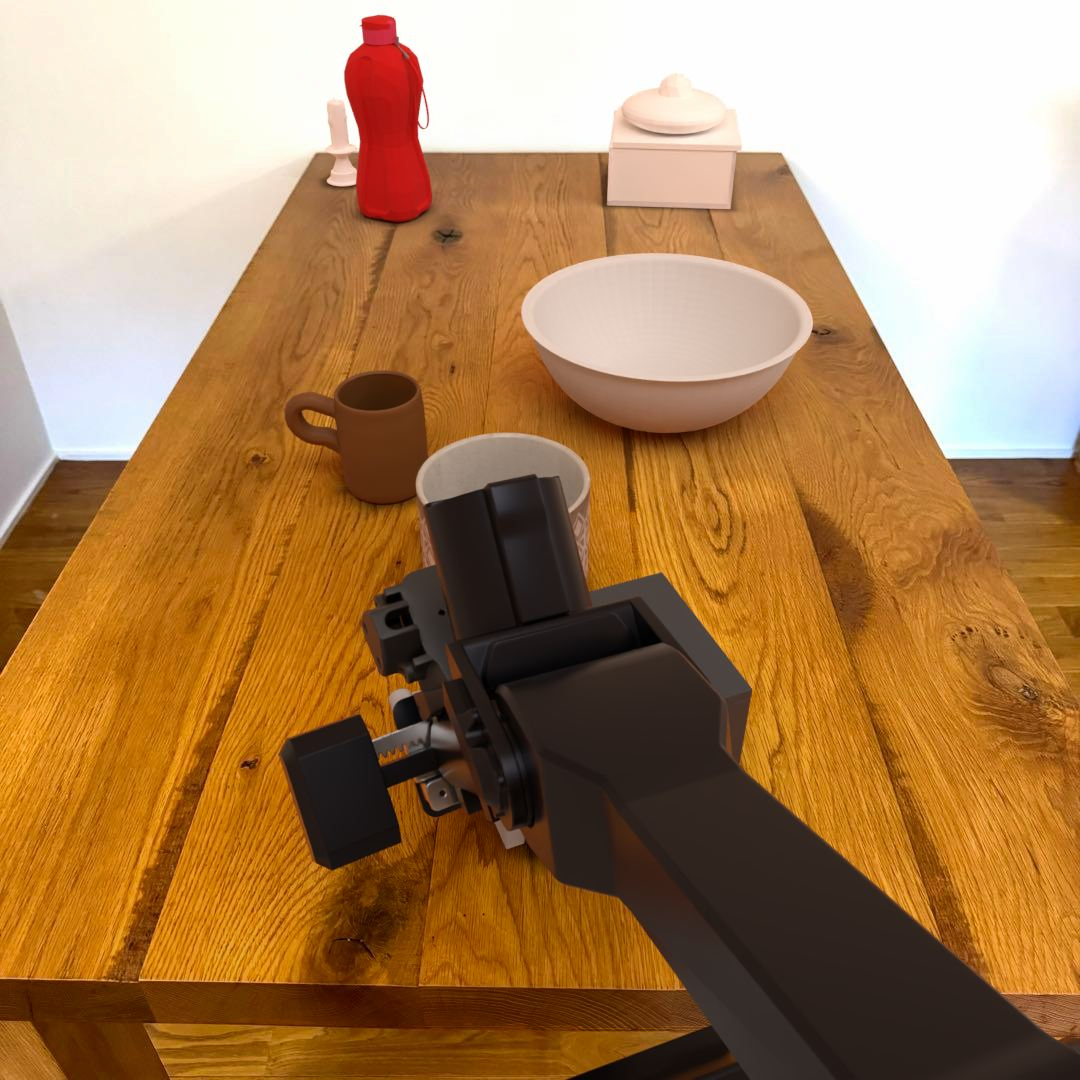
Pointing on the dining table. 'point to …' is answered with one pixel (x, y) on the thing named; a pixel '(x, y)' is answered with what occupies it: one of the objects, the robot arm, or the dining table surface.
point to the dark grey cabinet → (690, 644)
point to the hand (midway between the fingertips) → (444, 735)
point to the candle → (340, 146)
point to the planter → (504, 476)
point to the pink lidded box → (673, 149)
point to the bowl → (665, 337)
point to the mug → (370, 432)
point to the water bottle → (387, 123)
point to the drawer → (507, 837)
